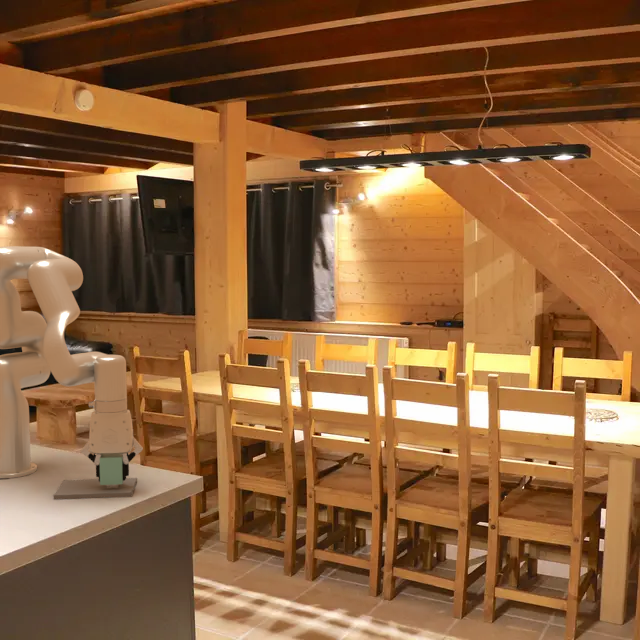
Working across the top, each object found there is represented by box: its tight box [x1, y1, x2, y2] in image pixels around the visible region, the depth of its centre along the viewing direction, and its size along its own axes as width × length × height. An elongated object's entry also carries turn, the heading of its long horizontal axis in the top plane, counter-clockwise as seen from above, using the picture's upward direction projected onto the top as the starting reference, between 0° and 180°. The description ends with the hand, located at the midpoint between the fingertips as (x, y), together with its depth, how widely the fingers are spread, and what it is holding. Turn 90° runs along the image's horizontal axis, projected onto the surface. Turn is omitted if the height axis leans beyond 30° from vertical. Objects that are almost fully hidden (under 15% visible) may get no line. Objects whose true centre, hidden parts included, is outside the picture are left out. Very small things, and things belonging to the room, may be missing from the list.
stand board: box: [53, 477, 138, 500], centre depth 187 cm, size 18×12×1 cm, turn 97°
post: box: [107, 484, 119, 489], centre depth 187 cm, size 3×3×6 cm
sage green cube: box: [100, 454, 123, 485], centre depth 186 cm, size 5×5×7 cm
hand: (112, 478), depth 187 cm, fingers closed on sage green cube, 4 cm apart
